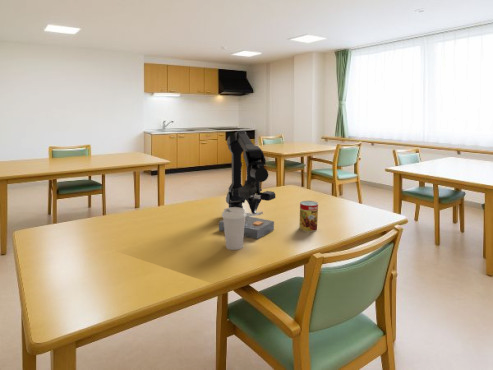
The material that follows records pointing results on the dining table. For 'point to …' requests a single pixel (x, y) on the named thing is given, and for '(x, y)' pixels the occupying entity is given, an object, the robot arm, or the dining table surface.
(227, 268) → the dining table surface
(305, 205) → the canned food
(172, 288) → the dining table surface
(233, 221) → the coffee cup
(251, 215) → the steel strap
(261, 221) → the silver metal tray
